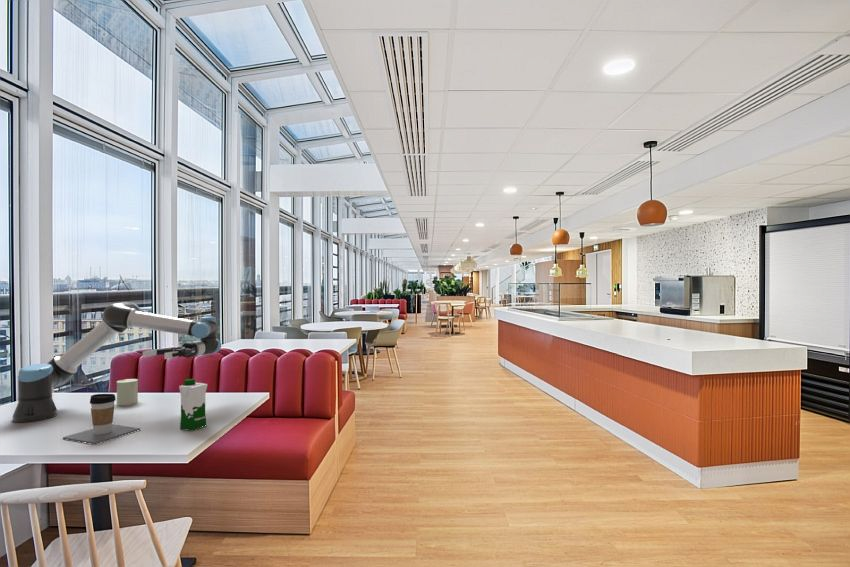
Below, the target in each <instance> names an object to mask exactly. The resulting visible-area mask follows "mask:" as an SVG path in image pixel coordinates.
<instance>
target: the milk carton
mask: <svg viewBox="0 0 850 567" xmlns="http://www.w3.org/2000/svg"><path fill="white" fill-rule="evenodd" d="M178 387H179V388H178V389H179V394H180V425H179V429H180V430H183V429H188V430H187V431H190V430H194V431H196V430H195V429H197V428H200V427H202V426H205V425H206V426H207V416H206V392H207V389H208V383H203V382H196V378H185V379H184V384H181V385H179V386H178ZM206 426H205V427H206ZM202 428H203V427H202ZM200 429H201V428H200ZM197 430H198V429H197Z"/></svg>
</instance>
